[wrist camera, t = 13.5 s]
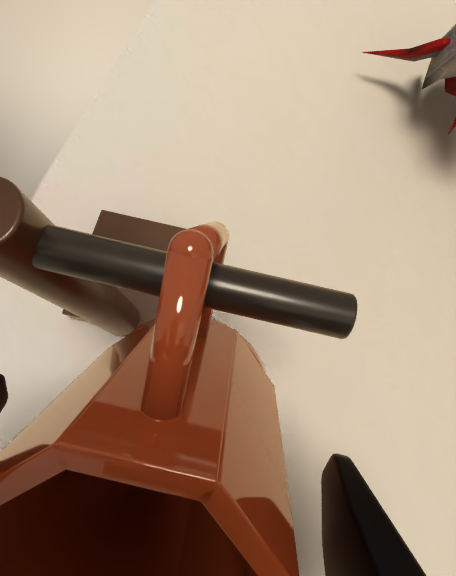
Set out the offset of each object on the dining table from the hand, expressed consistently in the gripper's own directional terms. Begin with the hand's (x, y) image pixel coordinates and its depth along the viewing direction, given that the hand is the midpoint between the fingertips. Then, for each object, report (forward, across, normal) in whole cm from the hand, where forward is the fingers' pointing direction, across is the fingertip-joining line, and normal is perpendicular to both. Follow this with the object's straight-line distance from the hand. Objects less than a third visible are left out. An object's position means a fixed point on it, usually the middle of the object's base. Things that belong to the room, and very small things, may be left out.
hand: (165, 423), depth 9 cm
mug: (+5, 0, +1) cm, 5 cm away
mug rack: (+12, +2, +3) cm, 13 cm away
